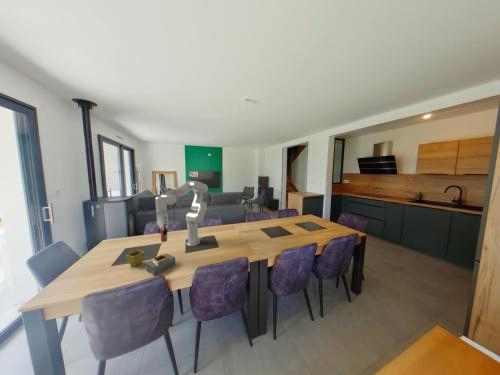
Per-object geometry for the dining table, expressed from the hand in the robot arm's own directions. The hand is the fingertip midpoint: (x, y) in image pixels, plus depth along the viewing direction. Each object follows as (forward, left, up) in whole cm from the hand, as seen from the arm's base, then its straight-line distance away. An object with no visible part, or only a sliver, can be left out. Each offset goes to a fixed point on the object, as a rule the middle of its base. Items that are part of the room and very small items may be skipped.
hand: (163, 233), depth 136 cm
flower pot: (+16, -12, -22) cm, 30 cm away
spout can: (-1, -1, -6) cm, 6 cm away
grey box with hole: (+8, +9, -21) cm, 25 cm away
